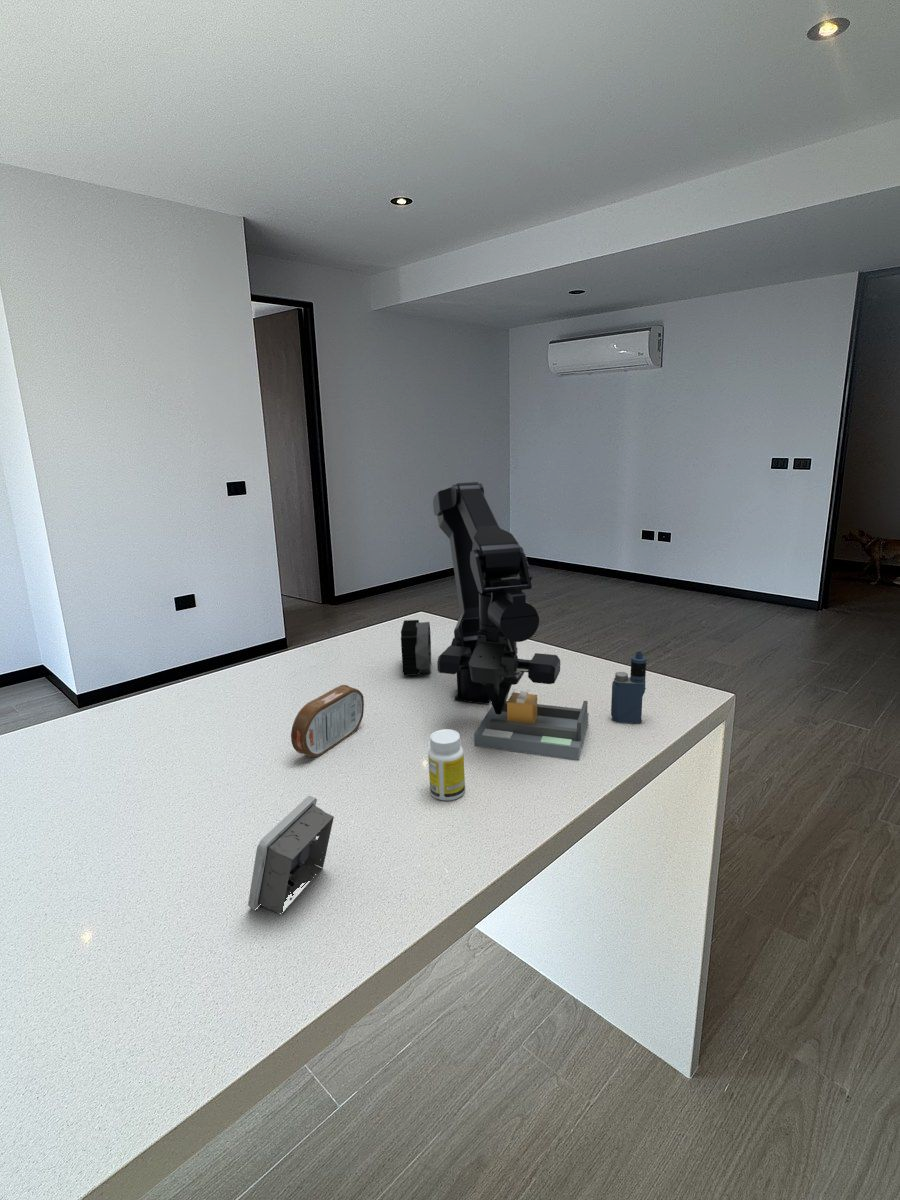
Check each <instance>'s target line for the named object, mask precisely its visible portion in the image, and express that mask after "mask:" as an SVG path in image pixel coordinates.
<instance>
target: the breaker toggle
mask: <svg viewBox="0 0 900 1200" xmlns="http://www.w3.org/2000/svg"><path fill="white" fill-rule="evenodd" d="M507 701H508V702H507V720H508V721H516V722H525V723H533V724H535V722H536V720H537V704H538V694H534V693H533V694H532V693H529V691H527V690H521V691H520V692H514V691H513V692H512V693H511V695H510V697H509V699H508V700H507Z"/></svg>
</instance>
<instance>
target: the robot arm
mask: <svg viewBox="0 0 900 1200" xmlns="http://www.w3.org/2000/svg"><path fill="white" fill-rule="evenodd" d="M432 508H433V509H432V510H433V515H435V516H436V517H437V522H438V523H437V524H438V527H439V529H440V530H441V531H442V532H443V533H444V534H445V535H446V536H447V538H448V539H449V545H450V550H451V557H452V558H451V560H452V565H453V572H454V578H455V585H456V593H457V599H458V607H459V615H460V616H459V618H458V621H457V622H456V625H455V627H454V630H453V634H454V637H452V641H451V644H450V645H449V646H448V647H447V648H446V649H445V650H444V651H442V653H441V654H440V655H439V656H438V657H437V661H436V662H437V663H436V664H437V672H438V673H440V674H449V675H456V695H455V696H454V697H453V699H454V701H459V702H467V703H477V704H485V705H487V704H490V703H491V706H493V708H494V711H495V713H496V714H499V715H500V714H501V713H502V710H503V708H504V705H505V702H506V701H507V699H508V696H509V693H510V690H511V688H512V686H514V685H518V684H519V682H520V681H521V679H522V677H523V676H524V674H525V673H527V677H528V680H530V681H531V682H532V683H534V684H535V683H536V684H543V685H552V684H553V685H554V684H555V683H556V681H557V678H558V676H559V674H560V673H561V658H559V656H558V655H557V654H551V653H550V654H549V653H537V652H535V653H534V654H533V656H532V658H531V659H524V658H518V657H519V656H518V647H517V646H518V645H517V643H520V642H524V641H528V640H529V639H530V638H532V637H533V636H534V635H535V634H536V632H537V630H538V628H539V625H540V617H539V613H538V611H537V609H536V608H535V607H534V606H533V605H532V604H531V603H529V602H528V601H527V599H526V598H527V597H526V593H524V592H523V591H526V590H532V589H533V588H532V586H533V585H532V582H531V581H532V580H533V574H532V572H531V568H530V564H529V562H528V558H527V555H526V553H525V551H524V549H523V546H521V545H520V544H519V542H518V540H517V539H516V538H515V536H514V534H512V533H511V532H509V531H507V530H504V529H502V528H501V527H500V524H498V521H497V519H496V517H495V514H494V513H493V511H492V509H491V507H490V505H489V503H488V501H487V499H486V496H485V489H484V485H483V483H481V482H480V483H479V482H478V481H474V482H473V481H471V482H470V481H469V482H457V483H456V484H452V485H451V487H447V488H445V489H440V490H439V491H437V493H436V494H435V495H434V496H433V499H432ZM517 577H519V578H517Z"/></svg>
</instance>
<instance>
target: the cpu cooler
mask: <svg viewBox="0 0 900 1200" xmlns="http://www.w3.org/2000/svg"><path fill="white" fill-rule="evenodd" d="M431 633H432V632H431V623H430V621H424V622H420V620H419V619H406V620H403V623H402V627H401V630H400V647H401V649H400V650H401V661H402V663H401V664H402V667H401V668H402V674H403V676H419V675H420V674H431V669H432V668H431V667H432V641H431V640H432V639H431V636H432V635H431Z"/></svg>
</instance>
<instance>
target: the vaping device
mask: <svg viewBox="0 0 900 1200" xmlns="http://www.w3.org/2000/svg"><path fill="white" fill-rule="evenodd" d="M643 654H644V653H643V652H642V651H638V650H637V651H636V652H635V655H632V656H631V659H630V662H631V663H630V676H629V674H628V673H627V672H625V671H617V672H615V675H614V678H613V681H612V685H611V686H612V687H611V703H610V705H611V708H610V712H611V713H610V715H611V718H612V720H613V722H615V723H618V722H619V723H623V724H642V722H643V721H642V720H643V719H642V716H643V715H642V713H643V709H642V708H643V696H644V695H645V693H646V689H647V688H646V676H647V674H646V673H647V657H646V656H644V655H643Z"/></svg>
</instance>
